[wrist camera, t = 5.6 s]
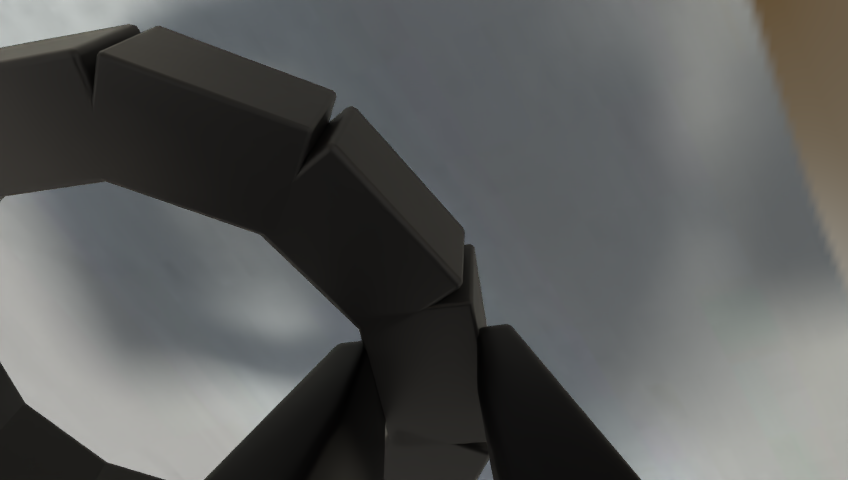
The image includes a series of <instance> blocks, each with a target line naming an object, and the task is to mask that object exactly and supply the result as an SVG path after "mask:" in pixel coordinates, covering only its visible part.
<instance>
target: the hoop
mask: <svg viewBox="0 0 848 480" xmlns="http://www.w3.org/2000/svg"><path fill="white" fill-rule="evenodd" d="M335 100H336V92H334V91H333V90H330V89H328V88H325V87H322V86H320V85H317V84H314V83H311V82H309V81H306V80H303V79H301V78H298V77H295V76H293V75H290V74H287V73H285V72H282V71H279V70H277V69H274V68H271V67H269V66H266V65H263V64H260V63H258V62H255V61H252V60H250V59H247V58H244V57H242V56H239V55H236V54H234V53H231V52H228V51H226V50H223V49H220V48H218V47H215V46H212V45H209V44H207V43H204V42H201V41H199V40H196V39H193V38H191V37H188V36H185V35H183V34H180V33H177V32H175V31H172V30H169V29H167V28H164V27H161V26H155V27H153V28H151V29H149V30H146V31H144V32H142V33H140V30H139V29H138V27H137V26H135V25H131V24H127V25H121V26H116V27H110V28H105V29H99V30H94V31H89V32H83V33H78V34H72V35H67V36H61V37H56V38H51V39H45V40H40V41H34V42H29V43H23V44H18V45H12V46H7V47H2V48H0V201H1V200H2V199H3V198H4V197H5V196H9V195H16V194H23V193H30V192H37V191H44V190H51V189H57V188H64V187H71V186H78V185H85V184H92V183H99V182H105V181H106V182H109V183H112V184H115V185H118V186H121V187H123V188H126V189H129V190H132V191H135V192H138V193H141V194H144V195H147V196H150V197H153V198H155V199H158V200H161V201H164V202H167V203H170V204H173V205H176V206H179V207H182V208H184V209H187V210H190V211H193V212H196V213H199V214H202V215H205V216H208V217H211V218H214V219H216V220H219V221H222V222H225V223H228V224H231V225H234V226H237V227H240V228H243V229H246V230H248V231H251V232H254V233H257V234H260V235H261V236H262V237H263V238H264V239H265V240H266V241H267V242H268V243H270V244H271V245H272V246H273V247H274V248H275V249H276V250H277V251H278V252H279V253H280V254H281V255H282V256H283V257H284V258H285V259H286V260H287V261H288V262H289V263H290V264H291V265H292V266H294V267H295V268H296V269H297V270H298V271H299V272H300V273H301V274H302V275H303V276H304V277H305V278H306V279H307V280H308V281H309V282H310V283H311V284H312V285H313V286H314V287H315V288H316V289H317V290H319V291H320V292H321V293H322V294H323V295H324V296H325V297H326V298H327V299H328V300H329V301H330V302H331V303H332V304H333V305H334V306H335V307H336V308H337V309H338V310H339V311H340V312H341V313H343V314H344V315H345V316H346V317H347V318H348V319H349V320H350V321H351V322H352V323H353V324H354V325H355V326H356V327H357V328H358V329H359V332H360V335H361V339H362V342H363V346H364V348H365V349H366V351H367V354H368V357H369V361H370V365H371V368H372V372H373V376H374V379H375V383H376V387H377V390H378V394H379V398H380V401H381V405H382V409H383V412H384V416H385V420H386V423H385V458H384V480H477V479H478V477H479V475H480V474H481V472H482V470H483V469H484V467H485V465H486V464H487V462H488V460H489V459H490V458H489V452H488V447H487V441H486V436H485V430H484V424H483V419H482V413H481V408H480V402H479V397H478V389H477V338H478V336H479V329H480V328H481V327H486V326H487V323H486V317H485V311H484V304H483V298H482V292H481V286H480V280H479V273H478V267H477V261H476V255H475V249H474V246H473V245H472V244H467V245H464V236H465V232H464V229H463V227H462V226H461V225H460V224H459V223H458V222H457V220H456V219H455V218H454V217H453V216H452V215H451V214H450V213H449V211H448V210H447V209H446V208H445V207H444V206H443V205H442V204H441V202H440V201H439V200H438V199H437V198H436V197H435V196H434V195H433V193H432V192H431V191H430V190H429V189H428V188H427V187H426V186H425V184H424V183H423V182H422V181H421V180H420V179H419V178H418V177H417V176H416V174H415V173H414V172H413V171H412V170H411V169H410V168H409V167H408V165H407V164H406V163H405V162H404V161H403V160H402V159H401V158H400V156H399V155H398V154H397V153H396V152H395V151H394V150H393V149H392V147H391V146H390V145H389V144H388V143H387V142H386V141H385V140H384V138H383V137H382V136H381V135H380V134H379V133H378V132H377V131H376V130H375V128H374V127H373V126H372V125H371V124H370V123H369V122H368V121H367V119H366V118H365V117H364V116H363V115H362V114H361V113H360V112H359V110H358V109H356V108H355V107H353V106H351V107H348V108H346V109H345V110H343V111H342V112H341V113H340V114H339V115H337V116H336V117H335V118H334V119H333V120H332V121H330V122H329V120H330V117H331V113H332V110H333V107H334V104H335ZM0 480H164V479H161V478H157V477H154V476H151V475H147V474H144V473H141V472H137V471H134V470H131V469H127V468H124V467H120V466H117V465H114V464H110V463H107V462H106V461H104V460H103V459H101V458H100V457H99V456H97V455H96V454H95V453H93V452H92V451H90V450H89V449H88V448H86V447H85V446H83V445H82V444H81V443H79V442H78V441H77V440H75V439H74V438H72V437H71V436H70V435H68V434H67V433H66V432H64V431H63V430H61V429H60V428H59V427H57V426H56V425H54V424H53V423H52V422H50V421H49V420H48V419H46V418H45V417H43V416H42V415H41V414H39V413H38V412H36V411H35V410H34V409H32V408H31V407H30V406H28V405H27V404H25V402H24V400H23V399H22V397H21V395H20V394H19V392H18V390H17V389H16V387H15V386H14V384H13V382H12V381H11V379H10V377H9V376H8V374H7V372H6V371H5V369H4V367H3V366H2V364H1V363H0Z"/></svg>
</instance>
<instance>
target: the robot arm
mask: <svg viewBox="0 0 848 480" xmlns="http://www.w3.org/2000/svg"><path fill="white" fill-rule="evenodd" d="M477 389H478V397H479V402H480V408H481V413H482V419H483V424H484V430H485V436H486V441H487V447H488V452H489V458H490V463H491V469H492V475H493V480H641V479H640V478H639V477H638V475H637V474H636V473H635V472H634V471H633V469H632V468H631V467H630V466H629V465H628V463H627V462H626V461H625V460H624V459H623V458H622V456H621V455H620V454H619V453H618V452H617V450H616V449H615V448H614V447H613V446H612V444H611V443H610V442H609V441H608V440H607V439H606V437H605V436H604V435H603V434H602V433H601V431H600V430H599V429H598V428H597V427H596V426H595V424H594V423H593V422H592V421H591V420H590V418H589V417H588V416H587V415H586V414H585V412H584V411H583V410H582V409H581V408H580V407H579V405H578V404H577V403H576V402H575V401H574V399H573V398H572V397H571V396H570V395H569V393H568V392H567V391H566V390H565V389H564V388H563V386H562V385H561V384H560V383H559V382H558V380H557V379H556V378H555V377H554V376H553V375H552V373H551V372H550V371H549V370H548V369H547V367H546V366H545V365H544V364H543V363H542V361H541V360H540V359H539V358H538V357H537V356H536V354H535V353H534V352H533V351H532V350H531V348H530V347H529V346H528V345H527V344H526V342H525V341H524V340H523V339H522V338H521V337H520V335H519V334H518V333H517V332H516V331H515V329H514V328H513V327H512V326H510V325H508V324H503V325H495V326H486V327H481V328H480V329H479V336H478V338H477ZM385 423H386V420H385V416H384V412H383V409H382V405H381V401H380V398H379V394H378V390H377V387H376V383H375V379H374V376H373V372H372V368H371V365H370V361H369V357H368V354H367V351H366V349H365V348H364V346H363V342H362V341H356V342H347V343H340V344H338V345H336V346H335V347H334V348H333V349H332V350H331V351H330V352H329V353H328V354H327V355H326V356H325V357H324V358H323V359H322V360H321V361H320V362H319V363H318V364H317V365H316V366H315V367H314V368H313V369H312V370H311V371H310V372H309V374H308V375H307V376H306V377H305V378H304V379H303V380H302V381H301V382H300V383H299V384H298V385H297V386H296V387H295V388H294V389H293V390H292V391H291V392H290V393H289V394H288V395H287V396H286V397H285V398H284V399H283V400H282V401H281V402H280V403H279V404H278V405H277V406H276V407H275V408H274V409H273V410H272V411H271V412H270V413H269V414H268V415H267V416H266V417H265V418H264V419H263V420H262V421H261V422H260V423H259V424H258V425H257V426H256V427H255V428H254V430H253V431H252V432H251V433H250V434H249V435H248V436H247V437H246V438H245V439H244V440H243V441H242V442H241V443H240V444H239V445H238V446H237V447H236V448H235V449H234V450H233V451H232V452H231V453H230V454H229V455H228V456H227V457H226V458H225V459H224V460H223V461H222V462H221V463H220V464H219V465H218V466H217V467H216V468H215V469H214V470H213V471H212V472H211V473H210V474H209V475H208V476H207V477H206V478H205V479H204V480H384V458H385Z"/></svg>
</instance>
